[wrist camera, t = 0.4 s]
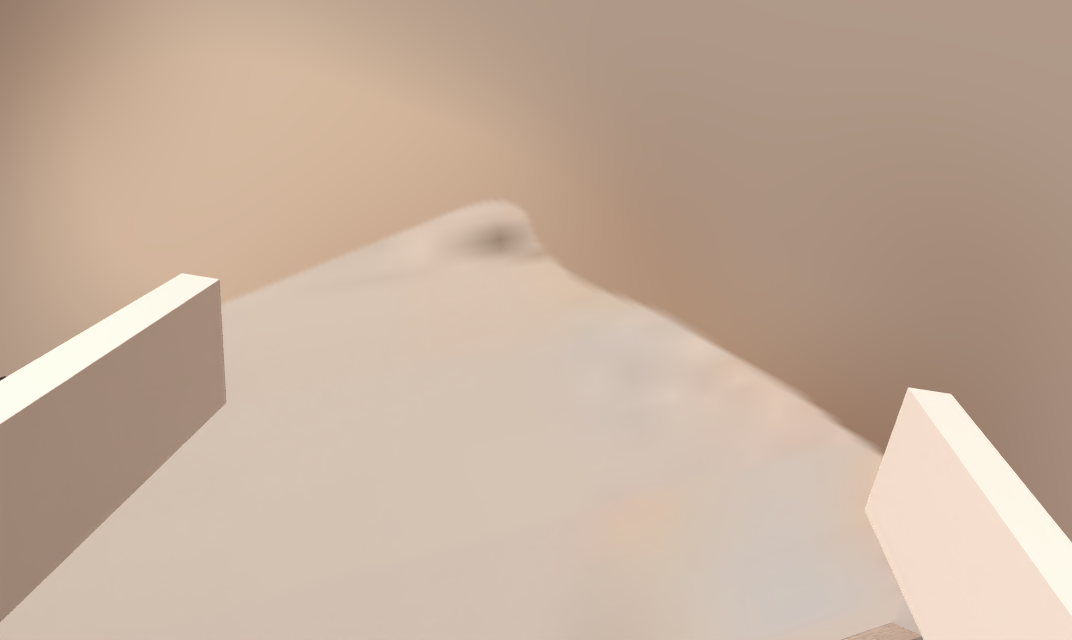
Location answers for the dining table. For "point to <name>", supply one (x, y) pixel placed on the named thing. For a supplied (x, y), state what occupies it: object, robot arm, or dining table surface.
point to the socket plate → (887, 634)
